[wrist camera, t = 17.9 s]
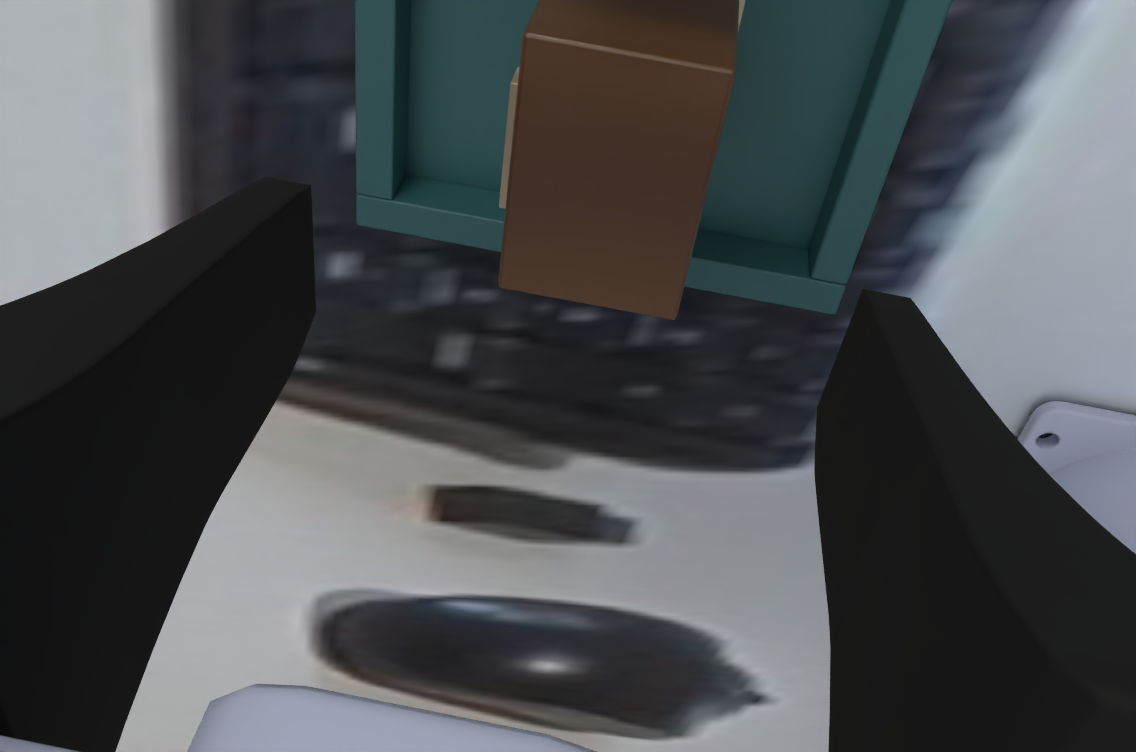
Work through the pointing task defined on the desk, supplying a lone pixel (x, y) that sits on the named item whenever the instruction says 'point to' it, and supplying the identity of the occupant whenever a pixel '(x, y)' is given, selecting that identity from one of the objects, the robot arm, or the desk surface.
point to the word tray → (745, 153)
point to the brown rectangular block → (613, 148)
